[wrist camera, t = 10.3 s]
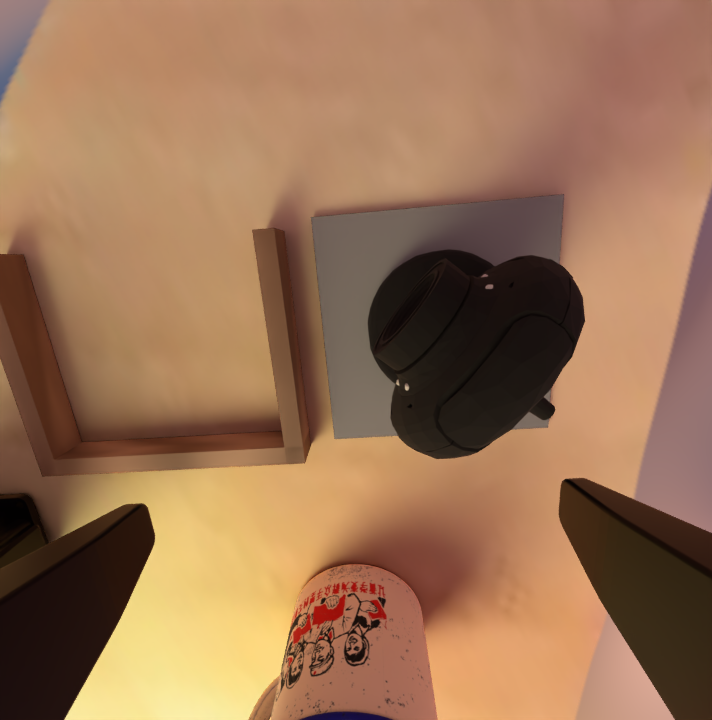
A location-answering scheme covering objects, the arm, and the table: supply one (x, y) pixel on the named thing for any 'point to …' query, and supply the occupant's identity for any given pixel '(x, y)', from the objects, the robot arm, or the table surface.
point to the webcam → (472, 345)
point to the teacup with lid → (353, 652)
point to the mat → (384, 254)
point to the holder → (73, 457)
